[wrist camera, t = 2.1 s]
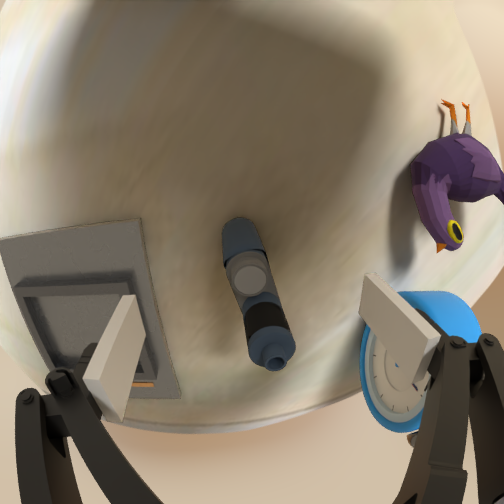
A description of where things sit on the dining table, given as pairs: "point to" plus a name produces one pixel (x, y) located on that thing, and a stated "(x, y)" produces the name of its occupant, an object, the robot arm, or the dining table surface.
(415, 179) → the toy
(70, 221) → the dining table surface
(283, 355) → the vaping device
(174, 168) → the dining table surface
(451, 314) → the alarm clock
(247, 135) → the dining table surface
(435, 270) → the dining table surface
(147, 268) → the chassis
